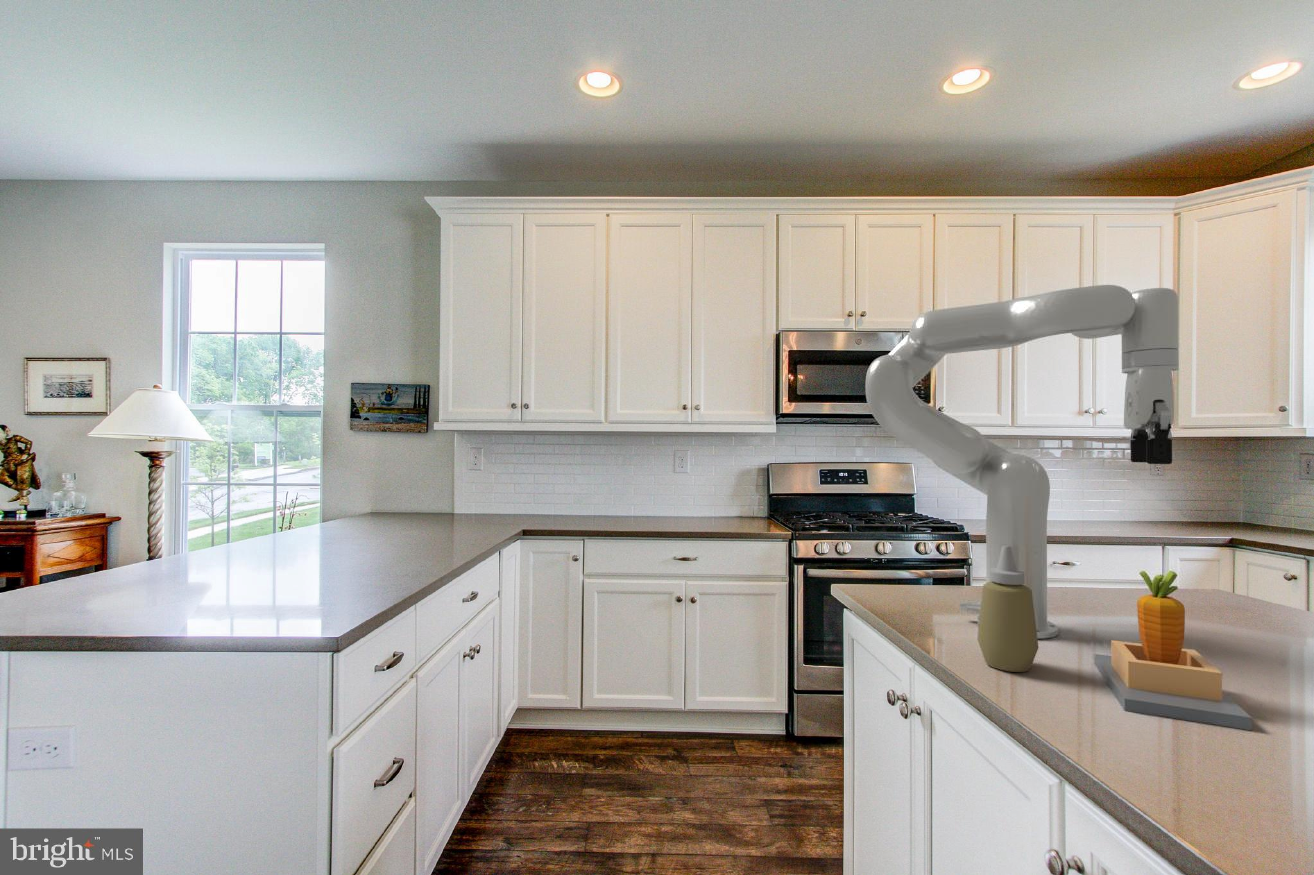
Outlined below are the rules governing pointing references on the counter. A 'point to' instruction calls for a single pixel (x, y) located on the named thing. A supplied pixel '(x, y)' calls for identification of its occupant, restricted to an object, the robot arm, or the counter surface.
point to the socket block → (1169, 686)
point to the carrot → (1161, 620)
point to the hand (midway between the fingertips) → (1150, 463)
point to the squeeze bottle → (1007, 618)
